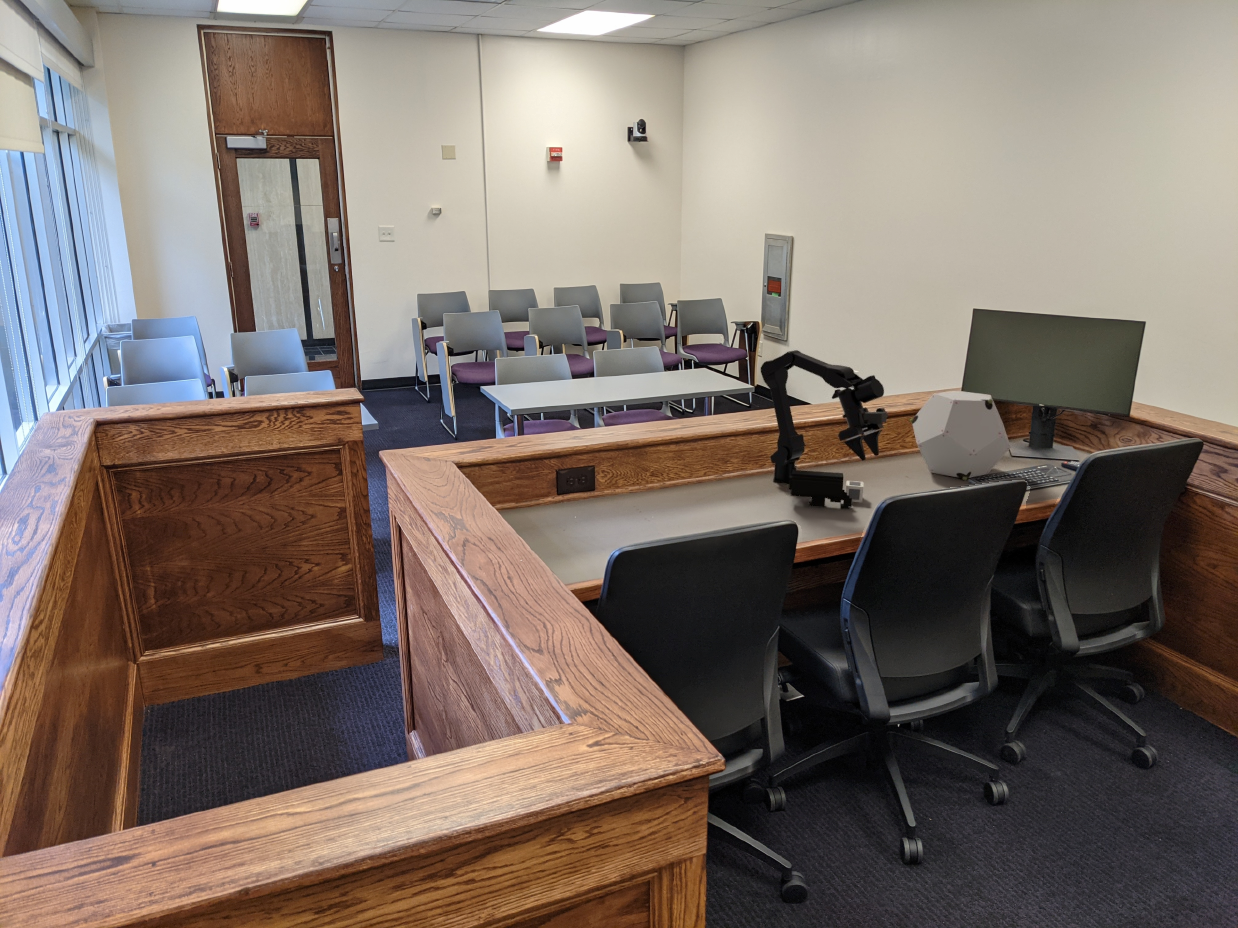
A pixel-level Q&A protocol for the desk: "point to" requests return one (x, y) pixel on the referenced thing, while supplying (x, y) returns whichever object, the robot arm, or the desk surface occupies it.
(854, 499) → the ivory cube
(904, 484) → the desk surface
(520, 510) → the desk surface
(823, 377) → the robot arm
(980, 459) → the geometric sculpture
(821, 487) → the security camera
